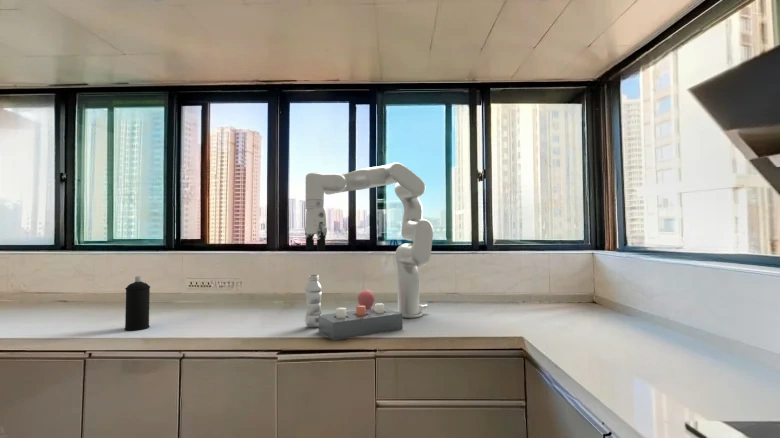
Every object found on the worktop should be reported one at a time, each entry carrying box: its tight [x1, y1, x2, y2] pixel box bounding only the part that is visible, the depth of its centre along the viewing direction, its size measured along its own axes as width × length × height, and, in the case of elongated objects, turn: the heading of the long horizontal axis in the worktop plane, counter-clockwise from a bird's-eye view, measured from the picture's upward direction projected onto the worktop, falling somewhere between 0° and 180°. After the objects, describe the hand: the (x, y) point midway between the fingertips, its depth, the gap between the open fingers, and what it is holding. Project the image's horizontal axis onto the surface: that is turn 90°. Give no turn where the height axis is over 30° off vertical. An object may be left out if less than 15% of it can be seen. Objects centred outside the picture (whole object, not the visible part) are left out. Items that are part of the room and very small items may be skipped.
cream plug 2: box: [374, 302, 385, 314], centre depth 148 cm, size 4×4×6 cm
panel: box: [318, 307, 404, 341], centre depth 144 cm, size 28×14×6 cm, turn 121°
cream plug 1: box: [335, 307, 347, 319], centre depth 140 cm, size 4×4×6 cm
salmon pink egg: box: [355, 305, 366, 316], centre depth 144 cm, size 4×4×6 cm
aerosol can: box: [124, 275, 151, 332], centre depth 149 cm, size 8×8×20 cm
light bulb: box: [357, 289, 375, 310], centre depth 164 cm, size 7×7×12 cm
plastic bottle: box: [304, 274, 323, 328], centre depth 150 cm, size 6×7×20 cm
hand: (315, 249), depth 148 cm, fingers open, 9 cm apart
